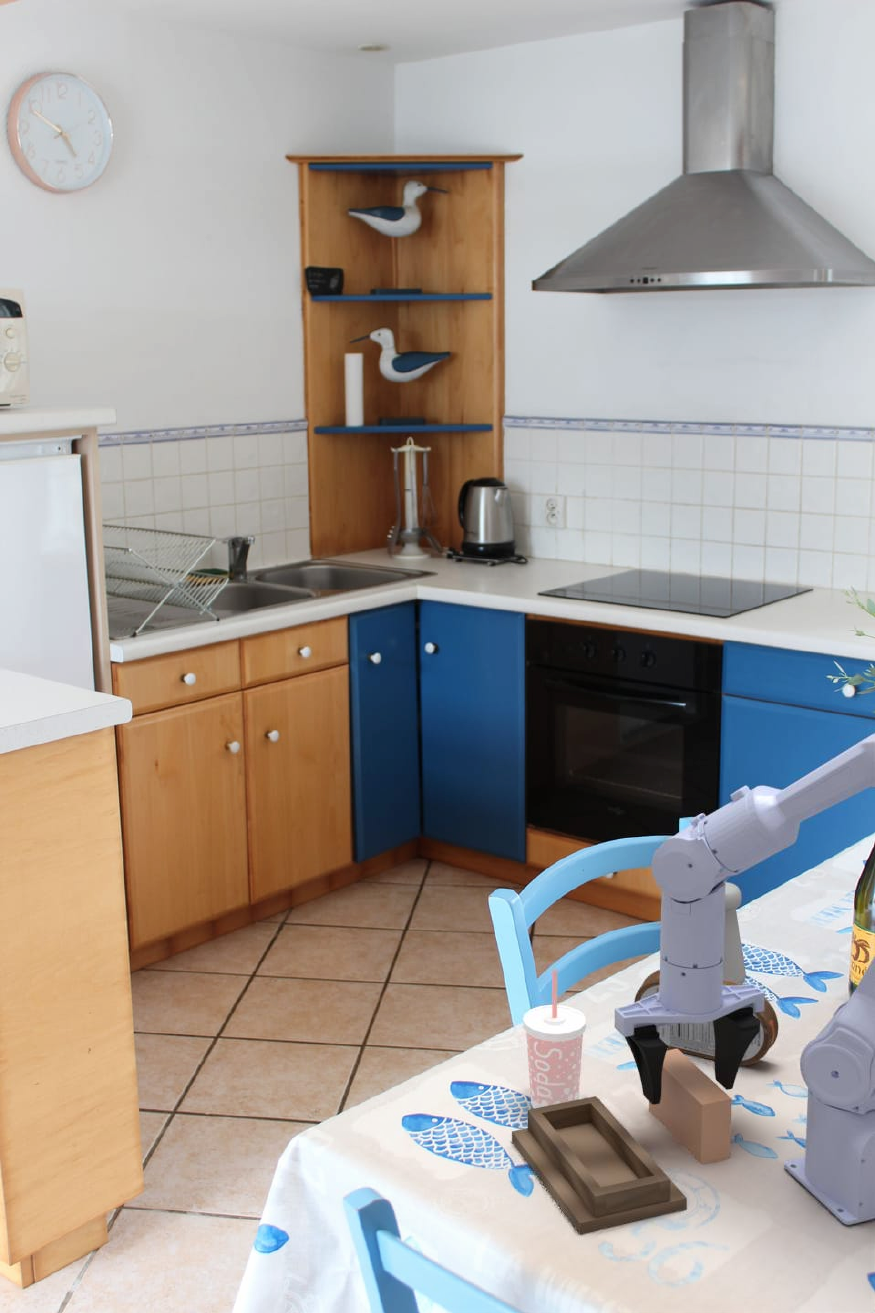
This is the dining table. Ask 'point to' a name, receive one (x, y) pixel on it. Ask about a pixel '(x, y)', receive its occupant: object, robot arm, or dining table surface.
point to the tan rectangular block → (694, 1109)
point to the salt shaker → (732, 937)
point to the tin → (711, 1029)
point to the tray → (594, 1166)
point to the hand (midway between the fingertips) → (688, 1091)
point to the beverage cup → (554, 1051)
